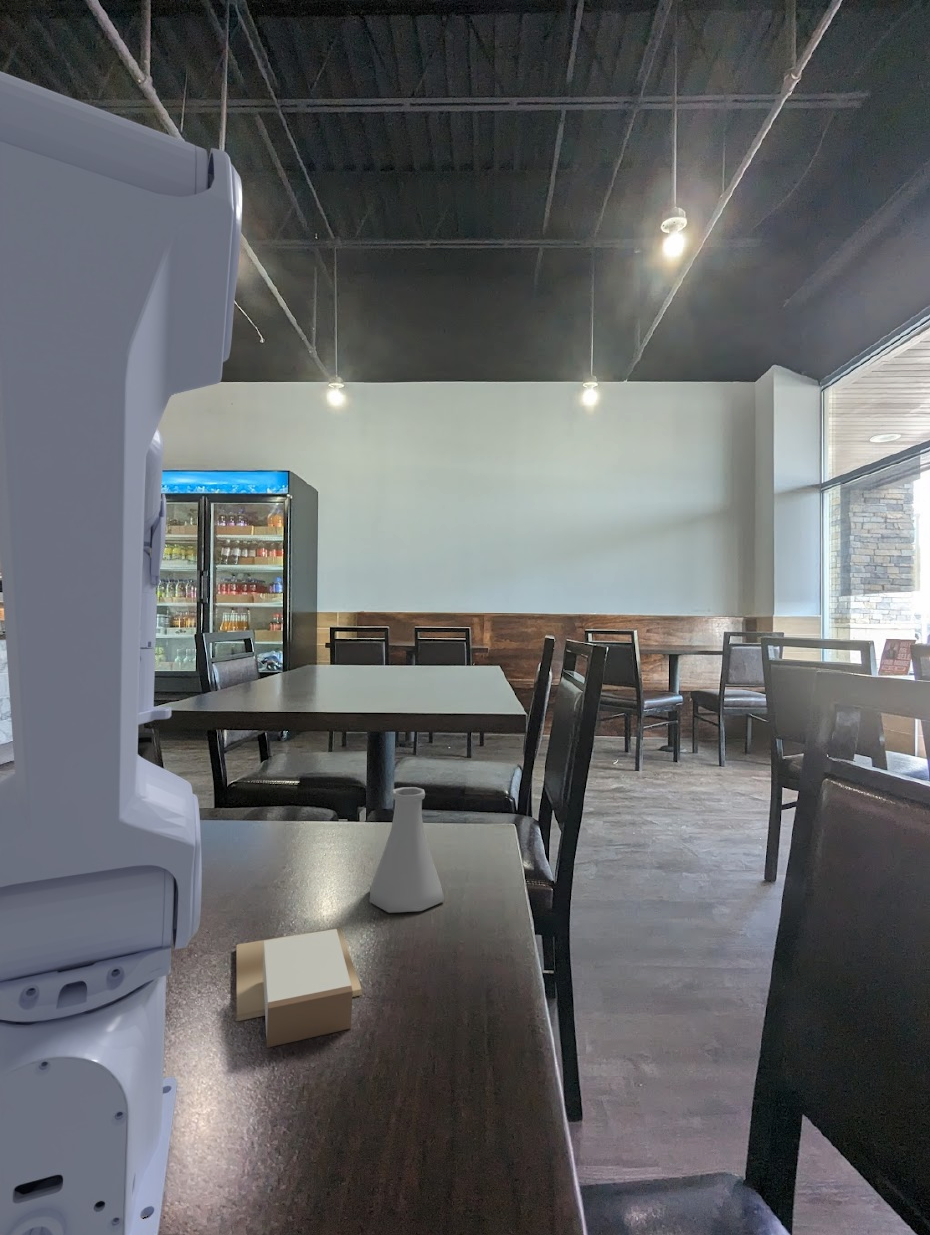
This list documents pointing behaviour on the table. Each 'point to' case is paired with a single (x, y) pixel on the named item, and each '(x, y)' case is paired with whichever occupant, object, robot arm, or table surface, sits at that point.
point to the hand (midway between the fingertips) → (103, 841)
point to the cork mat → (252, 976)
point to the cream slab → (305, 987)
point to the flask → (406, 860)
